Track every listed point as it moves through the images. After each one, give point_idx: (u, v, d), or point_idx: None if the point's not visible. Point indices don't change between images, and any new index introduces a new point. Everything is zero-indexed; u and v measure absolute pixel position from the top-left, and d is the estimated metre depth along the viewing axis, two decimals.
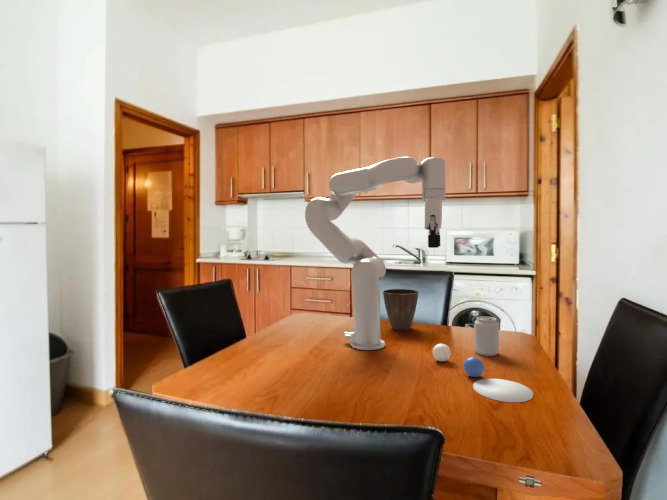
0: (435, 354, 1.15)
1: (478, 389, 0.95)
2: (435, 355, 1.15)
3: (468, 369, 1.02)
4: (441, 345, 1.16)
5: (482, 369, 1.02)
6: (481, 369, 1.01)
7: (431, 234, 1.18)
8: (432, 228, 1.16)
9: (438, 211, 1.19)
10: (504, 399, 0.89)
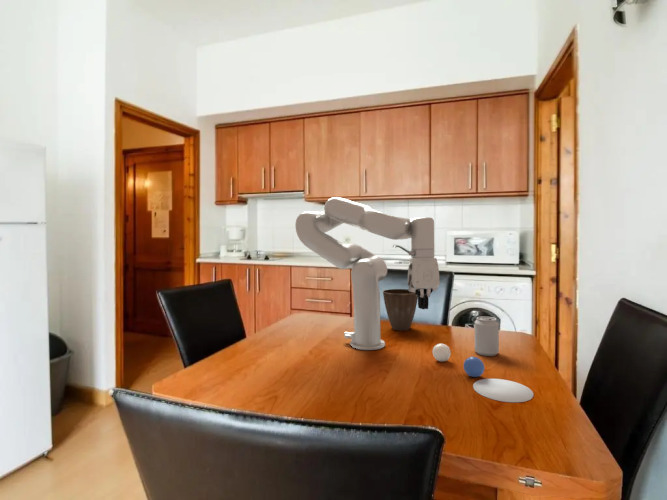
0: (435, 354, 1.15)
1: (478, 389, 0.95)
2: (435, 355, 1.15)
3: (468, 369, 1.02)
4: (441, 345, 1.16)
5: (482, 369, 1.02)
6: (481, 369, 1.01)
7: None
8: None
9: None
10: (504, 399, 0.89)
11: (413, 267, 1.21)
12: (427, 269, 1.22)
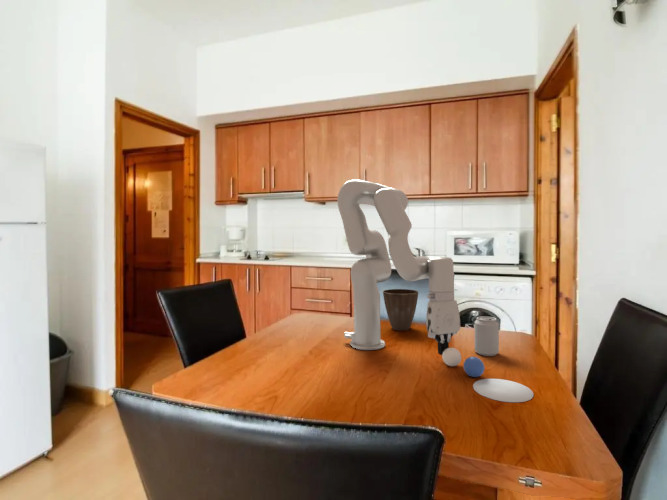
0: (444, 360, 1.11)
1: (478, 389, 0.95)
2: (443, 359, 1.12)
3: (468, 369, 1.02)
4: (455, 361, 1.10)
5: (482, 369, 1.02)
6: (481, 369, 1.01)
7: None
8: None
9: None
10: (504, 399, 0.89)
11: (432, 311, 1.13)
12: (447, 313, 1.14)
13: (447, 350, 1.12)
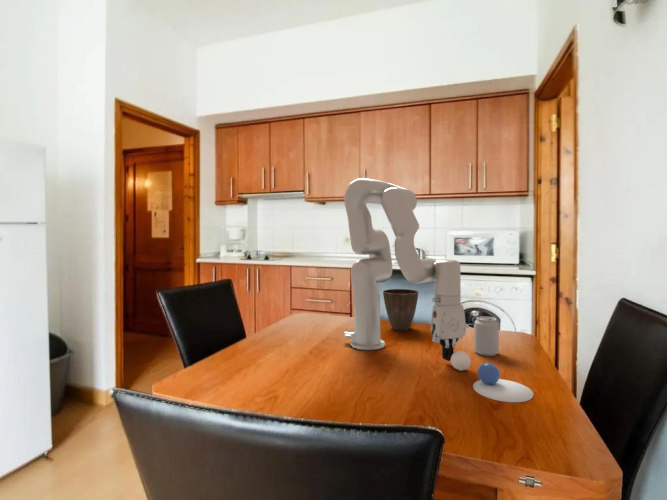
0: (451, 361, 1.08)
1: (478, 389, 0.95)
2: (452, 360, 1.08)
3: (479, 376, 0.98)
4: (458, 369, 1.09)
5: None
6: None
7: None
8: None
9: None
10: (504, 399, 0.89)
11: (438, 316, 1.10)
12: (453, 318, 1.11)
13: (461, 362, 1.06)
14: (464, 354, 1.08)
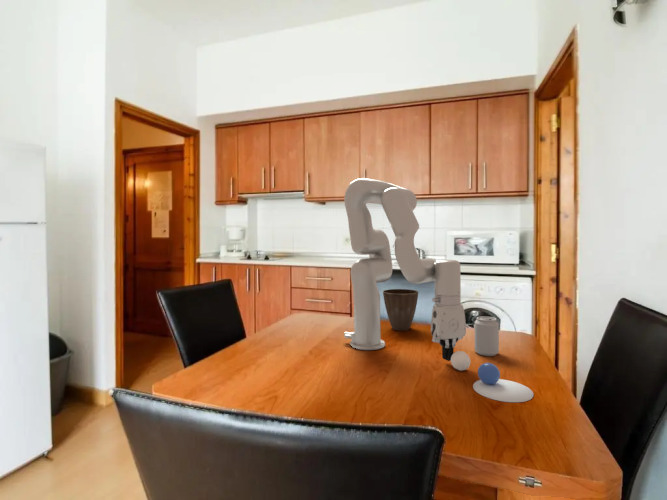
0: (451, 361, 1.08)
1: (478, 389, 0.95)
2: (452, 360, 1.08)
3: (479, 376, 0.98)
4: (458, 369, 1.09)
5: None
6: None
7: None
8: None
9: None
10: (504, 399, 0.89)
11: (438, 316, 1.10)
12: (453, 318, 1.11)
13: (461, 362, 1.06)
14: (464, 354, 1.08)
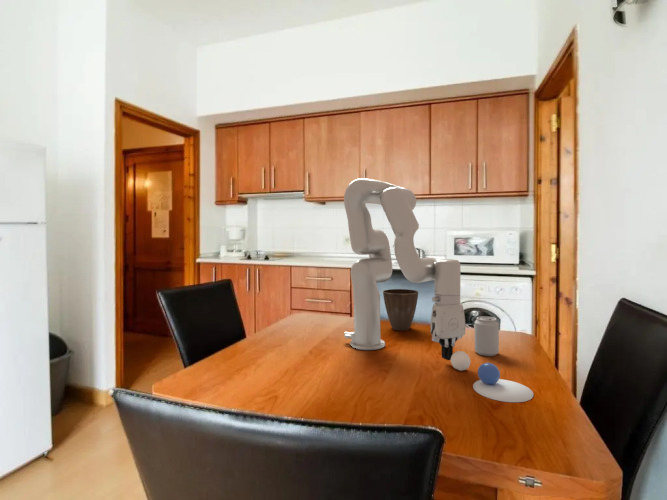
0: (451, 361, 1.08)
1: (478, 389, 0.95)
2: (452, 360, 1.08)
3: (479, 376, 0.98)
4: (458, 369, 1.09)
5: None
6: None
7: None
8: None
9: None
10: (504, 399, 0.89)
11: (437, 315, 1.10)
12: (452, 317, 1.11)
13: (461, 362, 1.06)
14: (464, 354, 1.08)
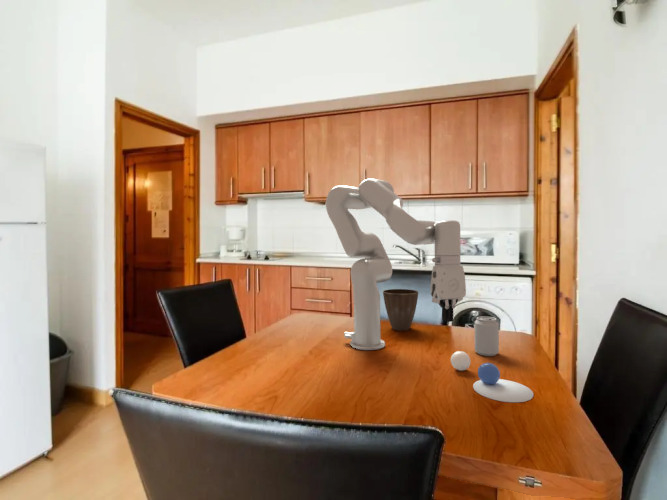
0: (451, 361, 1.08)
1: (478, 389, 0.95)
2: (452, 360, 1.08)
3: (479, 376, 0.98)
4: (458, 369, 1.09)
5: None
6: None
7: None
8: None
9: None
10: (504, 399, 0.89)
11: (437, 276, 1.10)
12: (453, 278, 1.10)
13: (461, 362, 1.06)
14: (464, 354, 1.08)
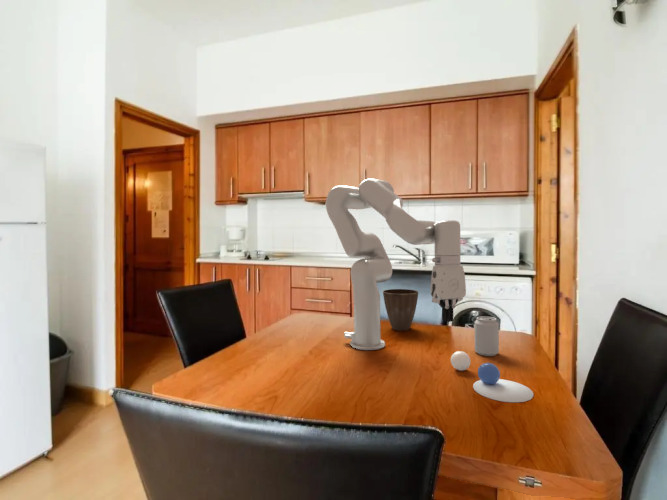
0: (451, 361, 1.08)
1: (478, 389, 0.95)
2: (452, 360, 1.08)
3: (479, 376, 0.98)
4: (458, 369, 1.09)
5: None
6: None
7: None
8: None
9: None
10: (504, 399, 0.89)
11: (437, 275, 1.10)
12: (453, 278, 1.10)
13: (461, 362, 1.06)
14: (464, 354, 1.08)
